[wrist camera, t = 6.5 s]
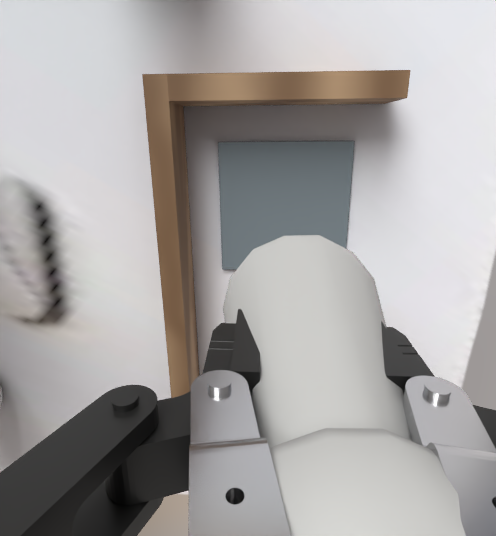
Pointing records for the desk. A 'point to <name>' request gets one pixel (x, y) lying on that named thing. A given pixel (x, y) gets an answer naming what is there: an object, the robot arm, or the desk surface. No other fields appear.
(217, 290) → the desk surface
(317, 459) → the salt shaker
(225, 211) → the pad
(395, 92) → the wooden l-shaped bracket
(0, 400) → the plastic bottle
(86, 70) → the desk surface
